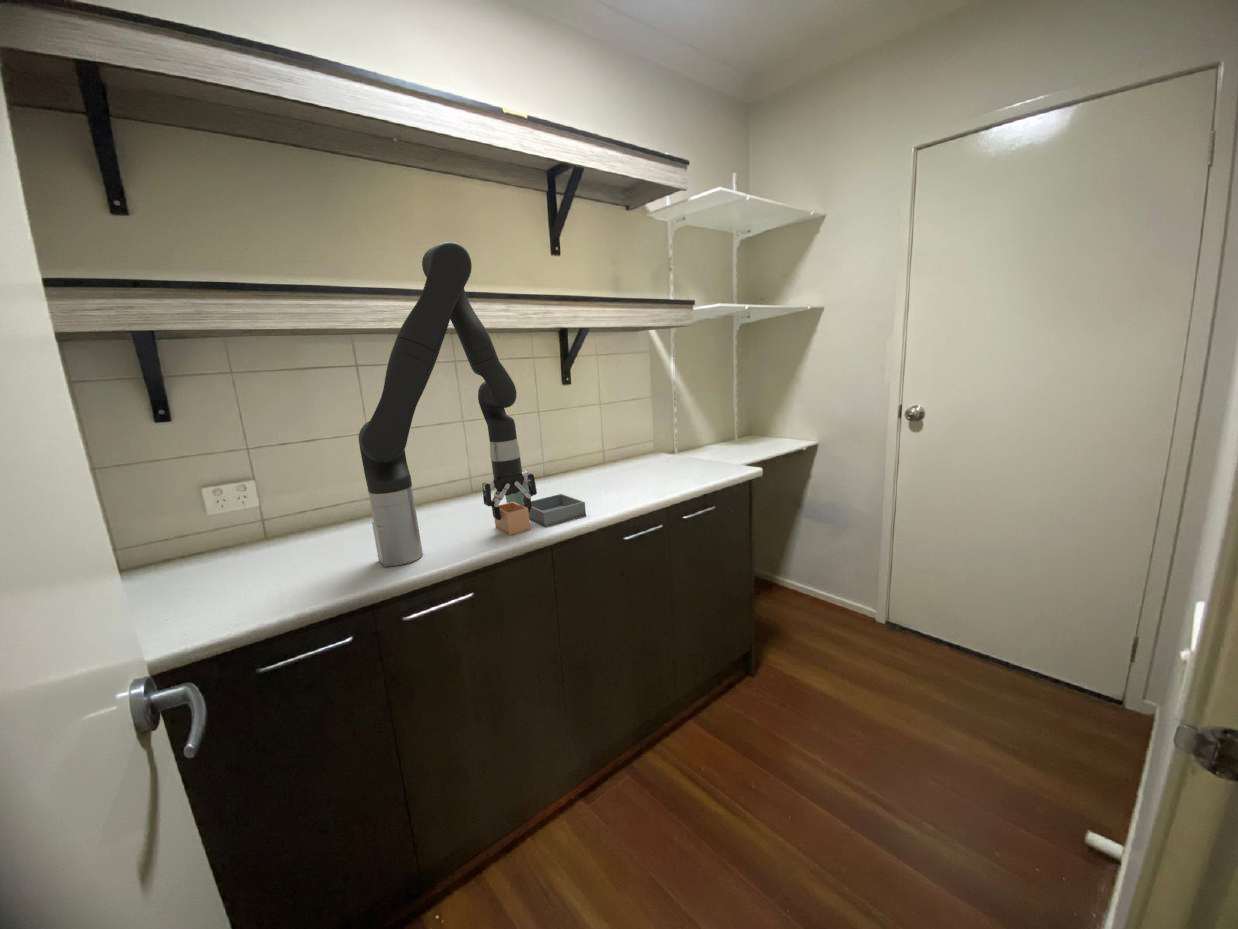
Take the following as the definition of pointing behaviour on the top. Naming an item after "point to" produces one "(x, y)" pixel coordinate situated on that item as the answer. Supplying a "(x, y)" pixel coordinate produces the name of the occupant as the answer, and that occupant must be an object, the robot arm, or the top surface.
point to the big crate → (556, 509)
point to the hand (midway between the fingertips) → (513, 515)
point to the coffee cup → (518, 496)
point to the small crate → (513, 518)
